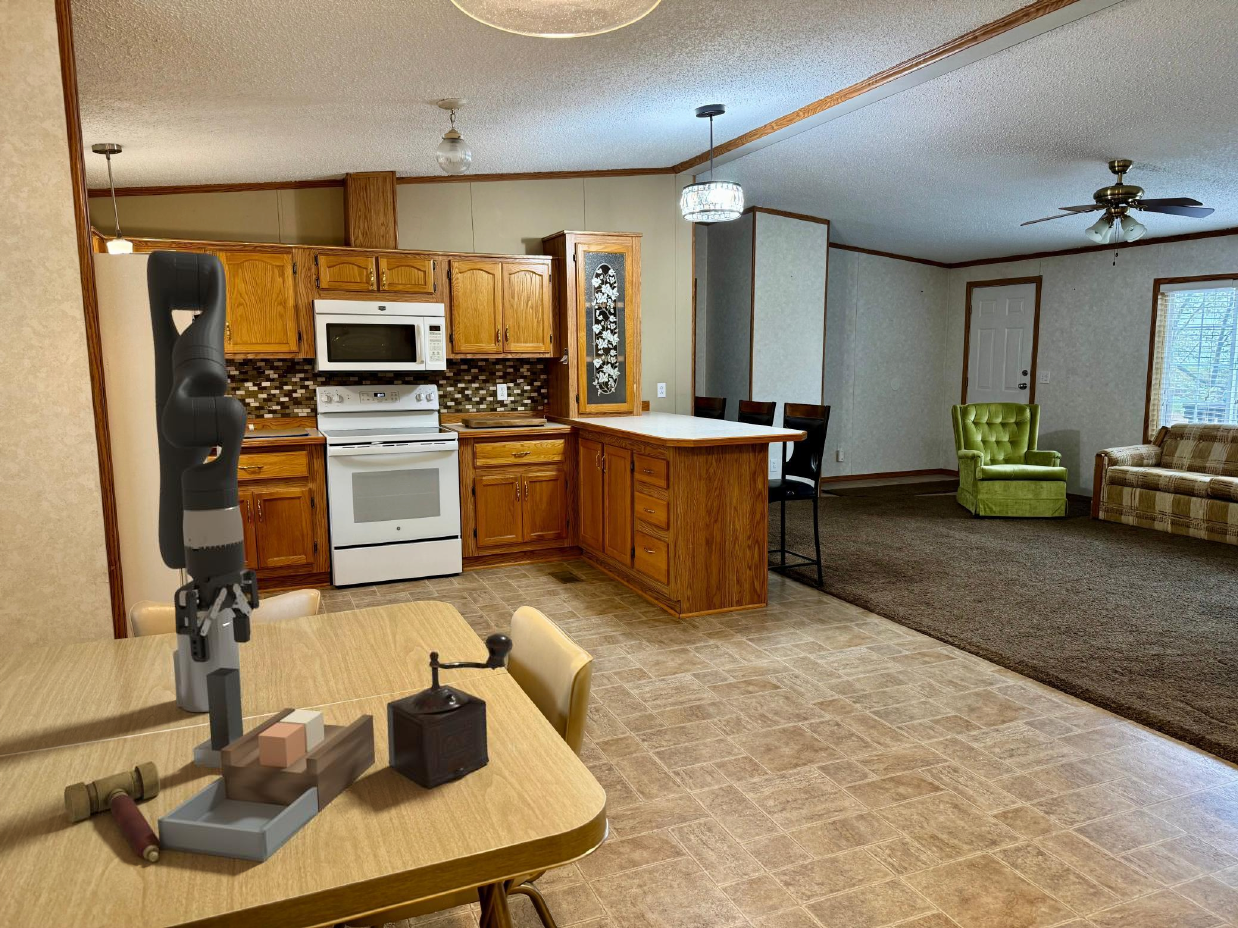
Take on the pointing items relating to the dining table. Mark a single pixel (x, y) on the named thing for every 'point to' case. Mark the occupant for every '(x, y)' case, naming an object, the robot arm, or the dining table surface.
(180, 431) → the robot arm
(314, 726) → the off-white cube
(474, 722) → the antique coffee grinder
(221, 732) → the grey upright post
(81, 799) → the gavel
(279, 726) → the terracotta cube
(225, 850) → the tray
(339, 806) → the dining table surface
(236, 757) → the slot block
